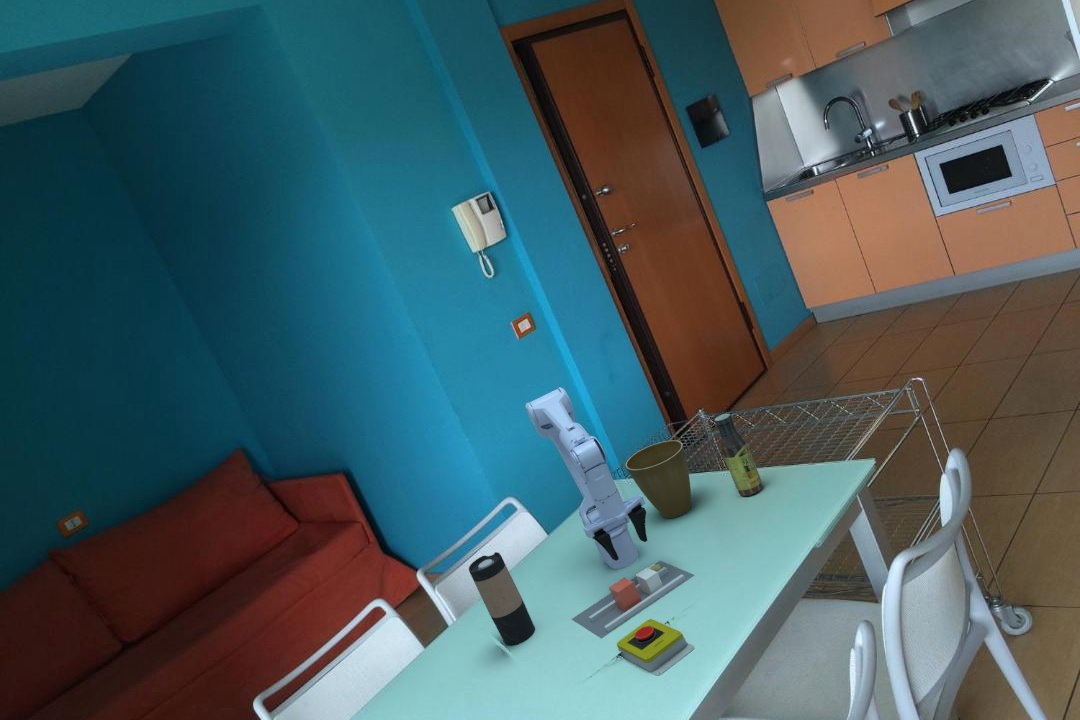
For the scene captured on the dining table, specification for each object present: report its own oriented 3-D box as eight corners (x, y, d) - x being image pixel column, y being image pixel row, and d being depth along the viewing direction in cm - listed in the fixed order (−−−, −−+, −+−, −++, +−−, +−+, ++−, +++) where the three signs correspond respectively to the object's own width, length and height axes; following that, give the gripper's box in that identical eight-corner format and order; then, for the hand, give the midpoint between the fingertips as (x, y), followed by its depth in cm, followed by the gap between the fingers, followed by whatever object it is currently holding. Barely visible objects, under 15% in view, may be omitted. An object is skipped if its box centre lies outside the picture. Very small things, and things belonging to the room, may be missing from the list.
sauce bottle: (759, 495, 216) (728, 421, 212) (735, 499, 220) (705, 426, 216) (767, 482, 221) (737, 409, 218) (744, 485, 225) (714, 414, 221)
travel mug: (515, 656, 193) (476, 575, 189) (501, 646, 200) (462, 567, 196) (544, 635, 196) (506, 555, 192) (529, 626, 203) (492, 549, 199)
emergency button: (644, 610, 180) (688, 629, 167) (652, 629, 181) (697, 649, 167) (607, 637, 176) (650, 659, 163) (616, 656, 177) (659, 679, 164)
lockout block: (618, 608, 190) (608, 587, 189) (633, 597, 192) (624, 577, 191) (627, 613, 187) (617, 592, 186) (642, 602, 188) (633, 582, 187)
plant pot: (643, 532, 224) (618, 474, 221) (657, 503, 237) (633, 449, 235) (700, 518, 218) (675, 459, 215) (711, 490, 231) (687, 434, 228)
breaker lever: (642, 591, 193) (635, 574, 192) (653, 583, 194) (646, 567, 193) (653, 596, 189) (645, 579, 188) (664, 588, 190) (657, 572, 189)
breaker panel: (574, 625, 195) (569, 615, 194) (662, 566, 203) (658, 556, 203) (604, 644, 182) (599, 634, 181) (697, 581, 190) (692, 570, 190)
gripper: (585, 514, 187) (611, 571, 189) (641, 479, 192) (666, 535, 194) (570, 508, 193) (595, 564, 196) (625, 475, 198) (649, 529, 201)
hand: (629, 549), depth 195 cm, fingers open, 7 cm apart
